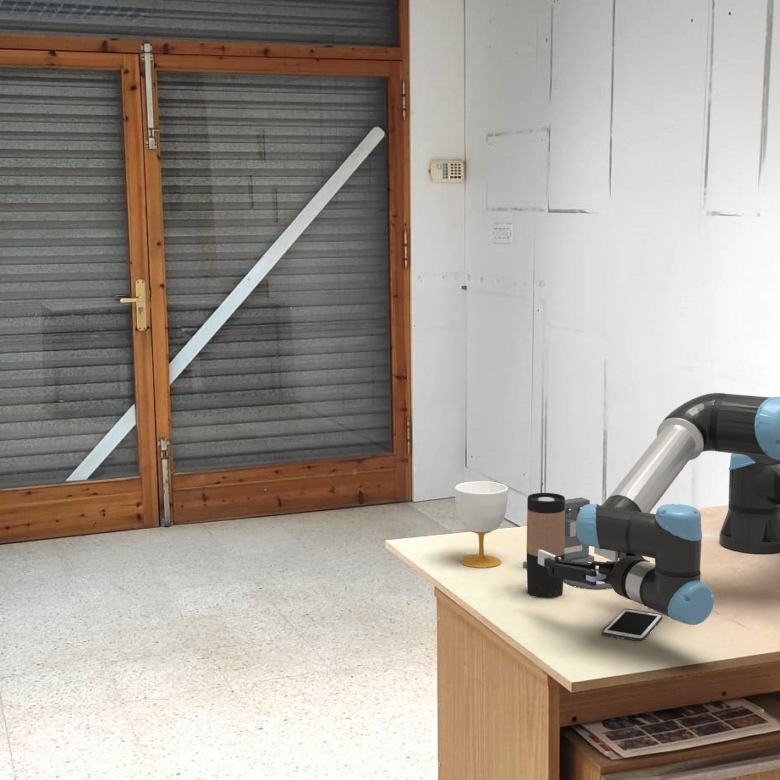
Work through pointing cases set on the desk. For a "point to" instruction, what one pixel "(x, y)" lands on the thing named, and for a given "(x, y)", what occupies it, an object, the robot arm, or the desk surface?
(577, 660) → the desk surface
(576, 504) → the breaker panel
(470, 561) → the cup
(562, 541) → the travel mug
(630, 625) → the cell phone
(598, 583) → the pad
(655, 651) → the desk surface
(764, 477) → the robot arm
